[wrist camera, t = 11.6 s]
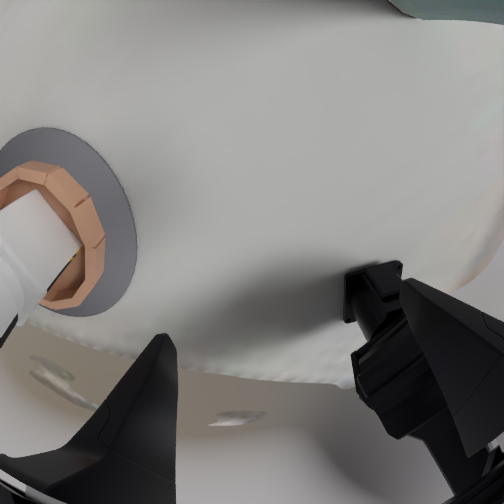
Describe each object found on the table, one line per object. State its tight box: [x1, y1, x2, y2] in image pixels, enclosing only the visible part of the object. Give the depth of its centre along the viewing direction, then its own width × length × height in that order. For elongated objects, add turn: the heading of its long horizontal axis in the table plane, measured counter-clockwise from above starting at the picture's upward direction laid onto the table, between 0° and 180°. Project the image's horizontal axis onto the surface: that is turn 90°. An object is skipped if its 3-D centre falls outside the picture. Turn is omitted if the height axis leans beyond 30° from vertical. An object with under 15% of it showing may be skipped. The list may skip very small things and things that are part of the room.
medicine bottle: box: [0, 189, 83, 348], centre depth 14 cm, size 7×7×12 cm
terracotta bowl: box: [0, 160, 106, 310], centre depth 19 cm, size 14×14×2 cm
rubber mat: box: [0, 128, 137, 317], centre depth 20 cm, size 20×20×1 cm
